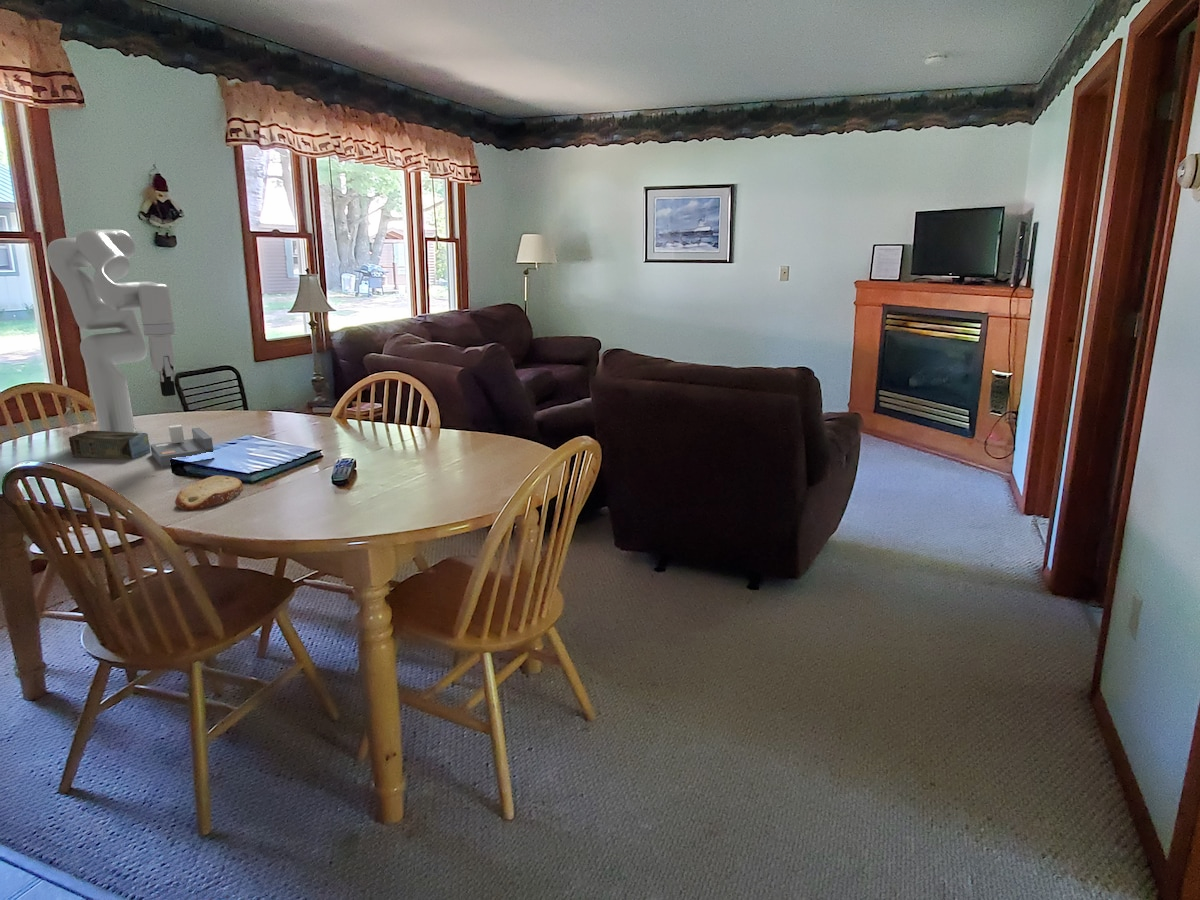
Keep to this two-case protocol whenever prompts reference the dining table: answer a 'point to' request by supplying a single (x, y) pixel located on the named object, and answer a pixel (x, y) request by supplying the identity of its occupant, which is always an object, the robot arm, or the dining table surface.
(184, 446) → the grey slide switch panel
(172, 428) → the knob
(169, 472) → the dining table surface
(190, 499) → the bread slice
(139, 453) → the beverage carton
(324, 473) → the dining table surface
